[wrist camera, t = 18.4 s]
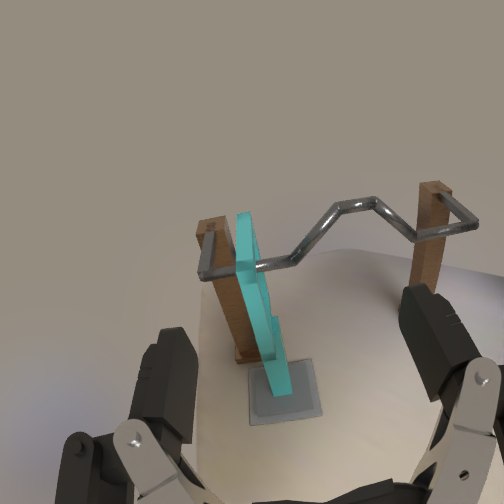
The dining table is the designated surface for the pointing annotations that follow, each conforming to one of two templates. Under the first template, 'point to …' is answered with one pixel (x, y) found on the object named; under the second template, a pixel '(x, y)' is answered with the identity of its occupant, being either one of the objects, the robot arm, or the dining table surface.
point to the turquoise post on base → (268, 335)
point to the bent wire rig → (224, 256)
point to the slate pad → (291, 416)
